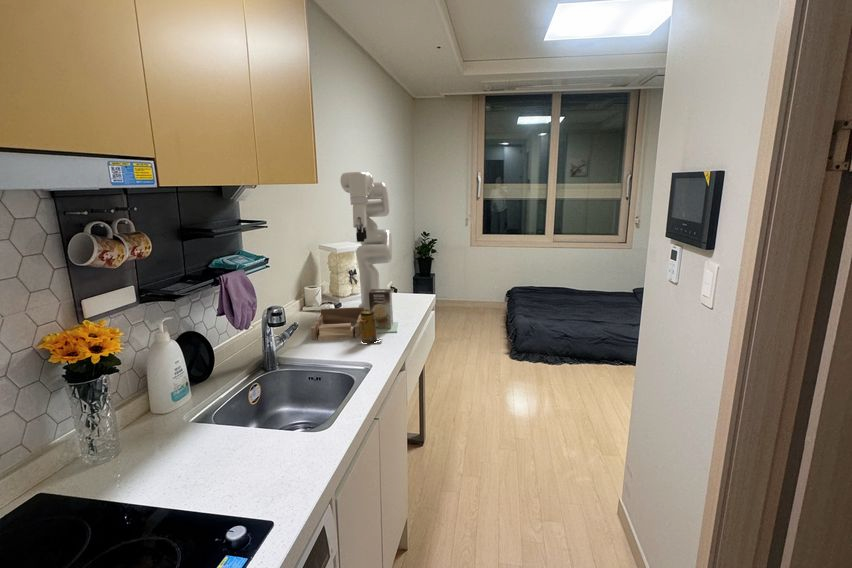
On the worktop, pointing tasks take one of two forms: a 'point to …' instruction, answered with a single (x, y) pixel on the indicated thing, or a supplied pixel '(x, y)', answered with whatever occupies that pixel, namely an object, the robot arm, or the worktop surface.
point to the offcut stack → (336, 331)
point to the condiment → (368, 327)
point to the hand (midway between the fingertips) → (361, 240)
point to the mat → (393, 329)
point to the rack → (338, 319)
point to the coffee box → (381, 307)
